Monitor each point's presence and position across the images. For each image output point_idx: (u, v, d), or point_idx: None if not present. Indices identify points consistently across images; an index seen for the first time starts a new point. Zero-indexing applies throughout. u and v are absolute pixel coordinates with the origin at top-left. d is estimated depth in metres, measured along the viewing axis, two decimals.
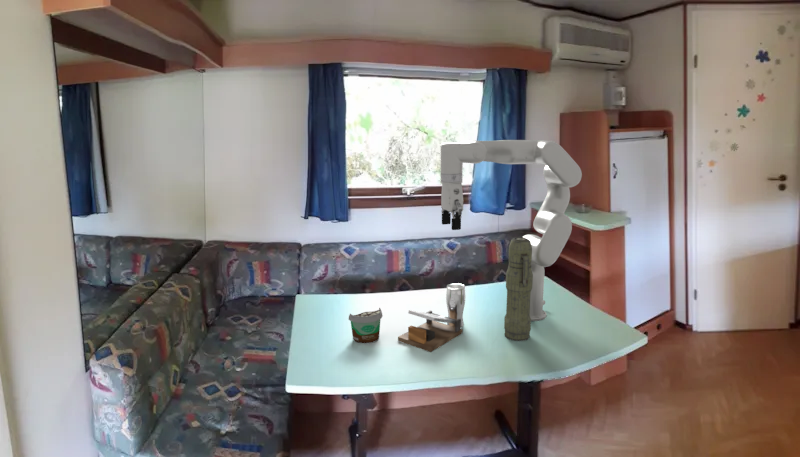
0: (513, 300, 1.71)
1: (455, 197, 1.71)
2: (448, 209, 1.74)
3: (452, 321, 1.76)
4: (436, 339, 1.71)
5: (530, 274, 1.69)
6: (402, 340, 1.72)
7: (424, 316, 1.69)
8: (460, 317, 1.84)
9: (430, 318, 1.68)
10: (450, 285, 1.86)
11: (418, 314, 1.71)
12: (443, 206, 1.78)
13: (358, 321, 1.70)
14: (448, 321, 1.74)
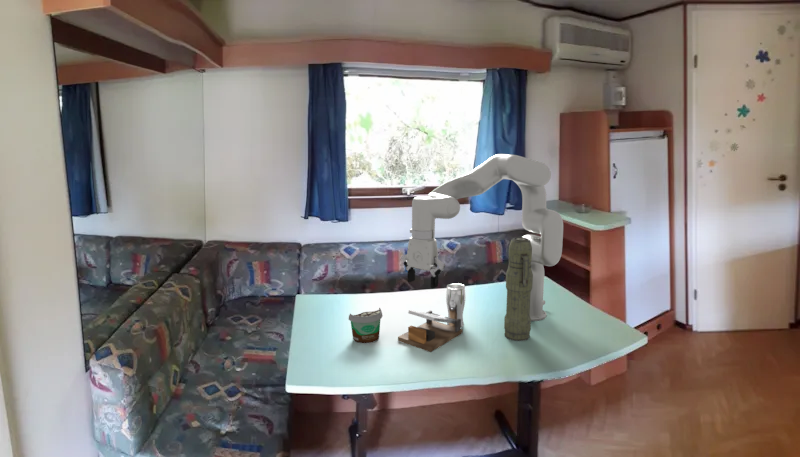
0: (513, 300, 1.71)
1: None
2: None
3: (452, 321, 1.76)
4: (436, 339, 1.71)
5: (530, 274, 1.69)
6: (402, 340, 1.72)
7: (424, 316, 1.69)
8: (460, 317, 1.84)
9: (430, 318, 1.68)
10: (450, 285, 1.86)
11: (418, 314, 1.71)
12: None
13: (358, 321, 1.70)
14: (448, 321, 1.74)
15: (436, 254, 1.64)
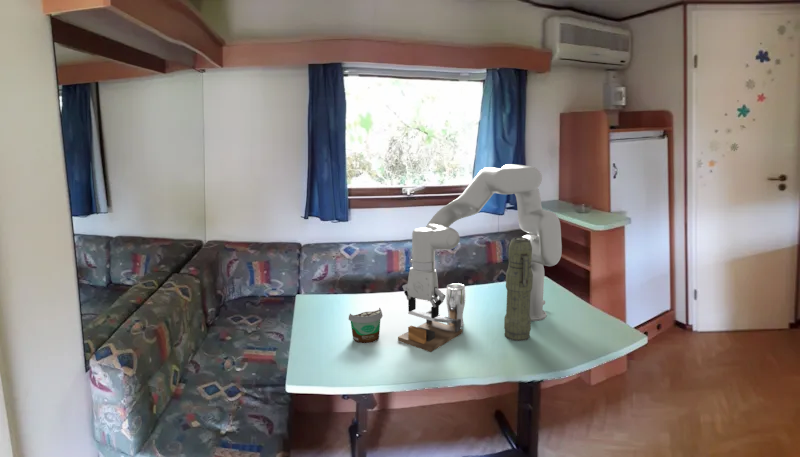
0: (513, 300, 1.71)
1: None
2: None
3: (452, 321, 1.76)
4: (436, 339, 1.71)
5: (530, 274, 1.69)
6: (402, 340, 1.72)
7: (424, 316, 1.69)
8: (460, 317, 1.84)
9: (430, 318, 1.68)
10: (450, 285, 1.86)
11: (418, 314, 1.71)
12: None
13: (358, 321, 1.70)
14: (448, 321, 1.74)
15: (436, 285, 1.66)
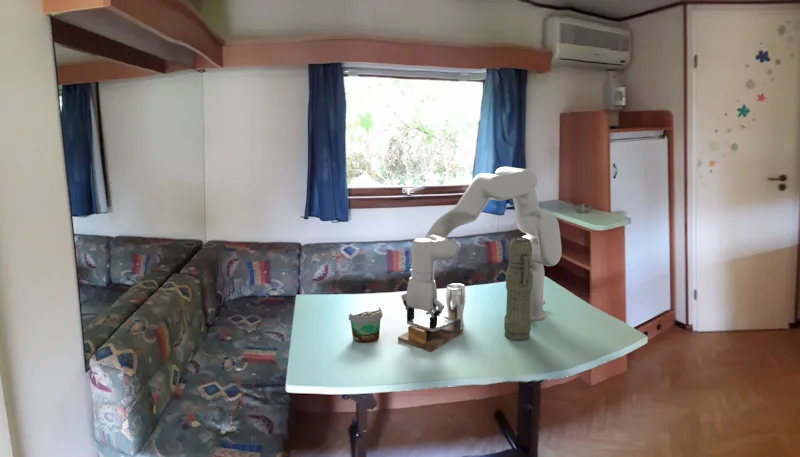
0: (513, 300, 1.71)
1: None
2: None
3: (452, 323, 1.76)
4: (436, 339, 1.71)
5: (530, 274, 1.69)
6: (402, 340, 1.72)
7: (422, 327, 1.69)
8: (460, 317, 1.84)
9: (428, 329, 1.68)
10: (450, 285, 1.86)
11: (416, 325, 1.71)
12: None
13: (358, 321, 1.70)
14: (447, 325, 1.74)
15: (435, 295, 1.67)
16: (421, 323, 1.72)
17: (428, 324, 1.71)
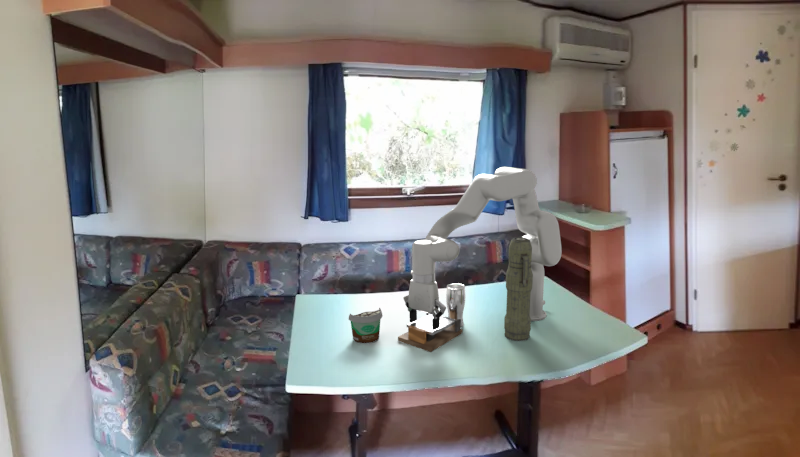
0: (513, 300, 1.71)
1: None
2: None
3: (452, 323, 1.76)
4: (436, 339, 1.71)
5: (530, 274, 1.69)
6: (402, 340, 1.72)
7: None
8: (460, 317, 1.84)
9: (428, 332, 1.68)
10: (450, 285, 1.86)
11: None
12: None
13: (358, 321, 1.70)
14: (447, 326, 1.74)
15: (437, 296, 1.67)
16: (421, 326, 1.72)
17: (428, 327, 1.72)
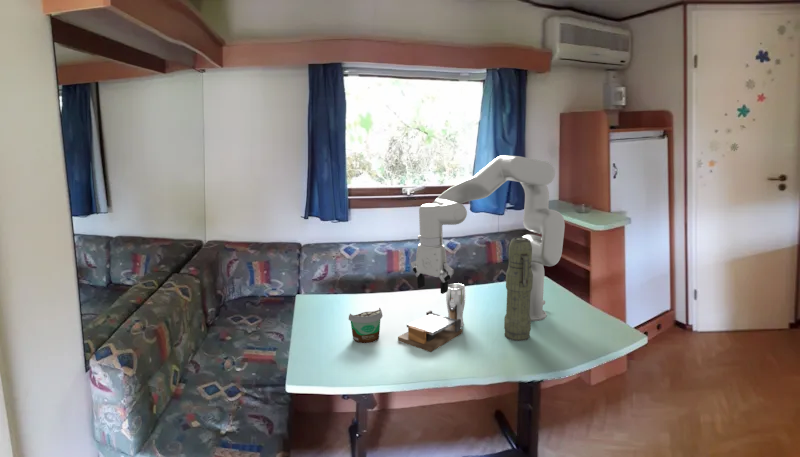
0: (513, 300, 1.71)
1: None
2: None
3: (452, 323, 1.76)
4: (436, 339, 1.71)
5: (530, 274, 1.69)
6: (402, 340, 1.72)
7: None
8: (460, 317, 1.84)
9: (428, 332, 1.68)
10: (450, 285, 1.86)
11: None
12: None
13: (358, 321, 1.70)
14: (447, 326, 1.74)
15: (445, 260, 1.66)
16: (421, 326, 1.72)
17: (428, 327, 1.72)
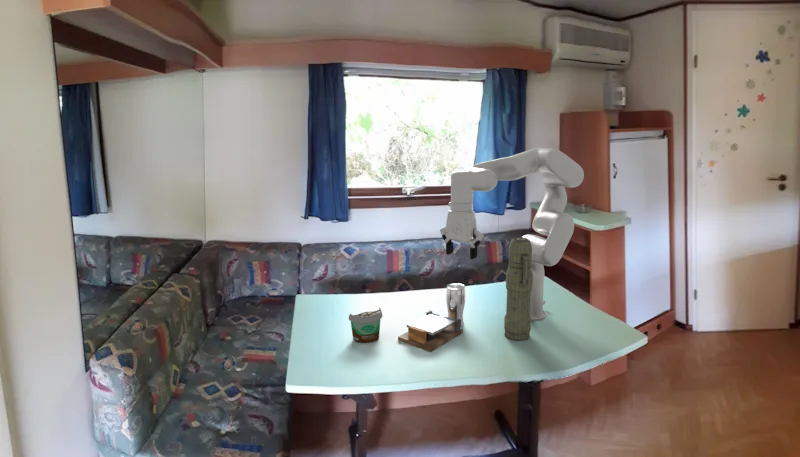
0: (513, 300, 1.71)
1: None
2: None
3: (452, 323, 1.76)
4: (436, 339, 1.71)
5: (530, 274, 1.69)
6: (402, 340, 1.72)
7: None
8: (460, 317, 1.84)
9: (428, 332, 1.68)
10: (450, 285, 1.86)
11: None
12: None
13: (358, 321, 1.70)
14: (447, 326, 1.74)
15: (475, 226, 1.69)
16: (421, 326, 1.72)
17: (428, 327, 1.72)
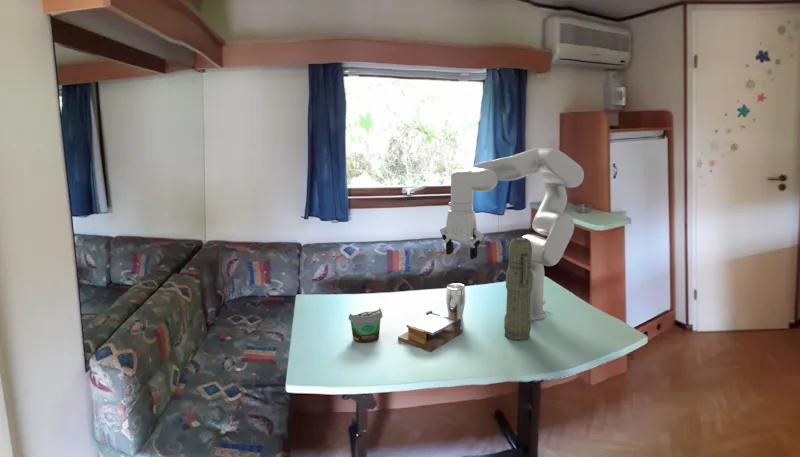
0: (513, 300, 1.71)
1: None
2: None
3: (452, 323, 1.76)
4: (436, 339, 1.71)
5: (530, 274, 1.69)
6: (402, 340, 1.72)
7: None
8: (460, 317, 1.84)
9: (428, 332, 1.68)
10: (450, 285, 1.86)
11: None
12: None
13: (358, 321, 1.70)
14: (447, 326, 1.74)
15: (475, 226, 1.69)
16: (421, 326, 1.72)
17: (428, 327, 1.72)
